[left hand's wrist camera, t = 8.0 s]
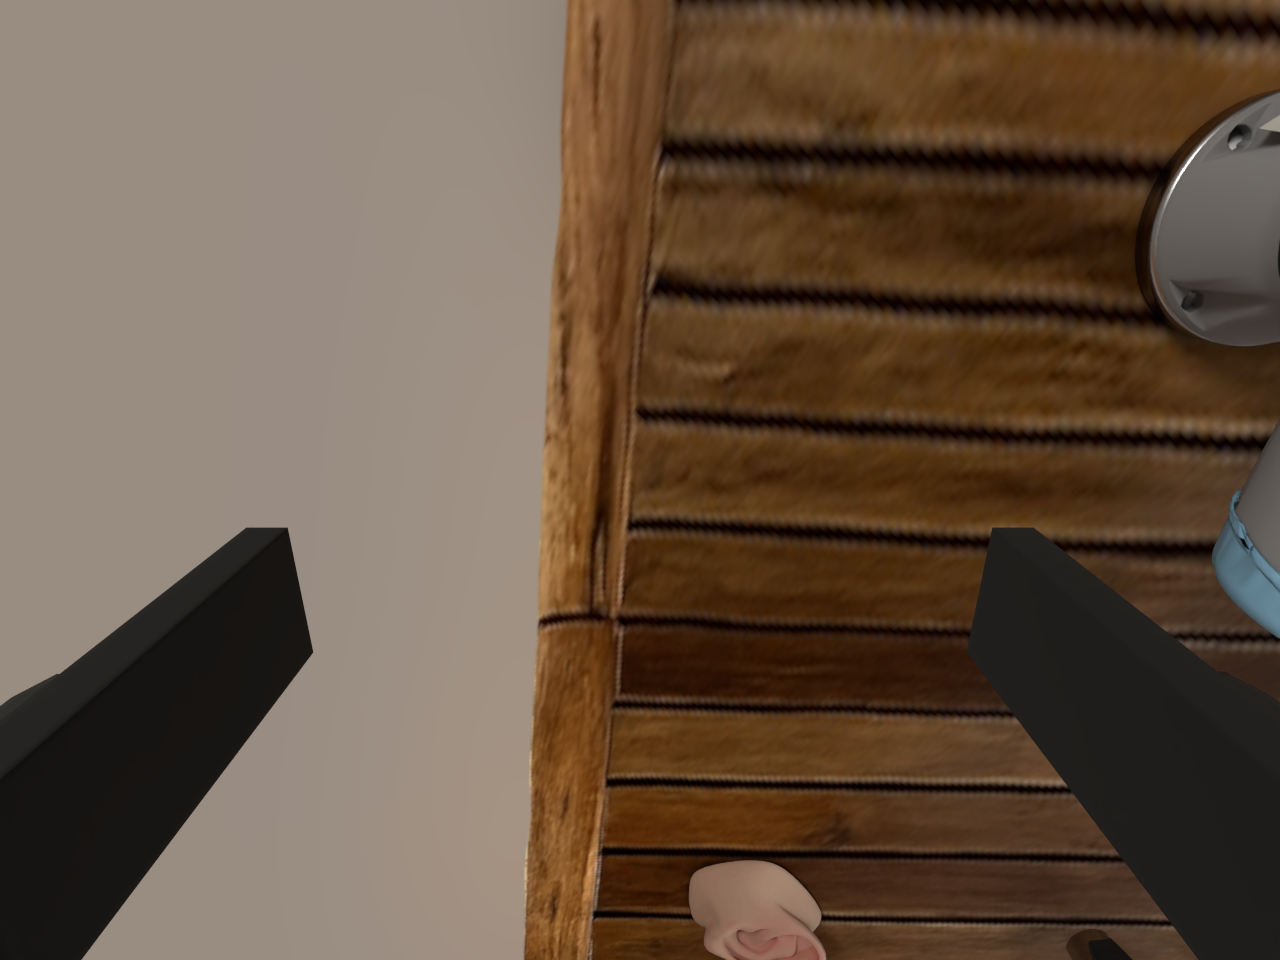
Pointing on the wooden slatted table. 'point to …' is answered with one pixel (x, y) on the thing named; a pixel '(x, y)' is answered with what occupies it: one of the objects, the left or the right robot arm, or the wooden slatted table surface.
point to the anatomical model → (755, 912)
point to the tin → (1083, 943)
